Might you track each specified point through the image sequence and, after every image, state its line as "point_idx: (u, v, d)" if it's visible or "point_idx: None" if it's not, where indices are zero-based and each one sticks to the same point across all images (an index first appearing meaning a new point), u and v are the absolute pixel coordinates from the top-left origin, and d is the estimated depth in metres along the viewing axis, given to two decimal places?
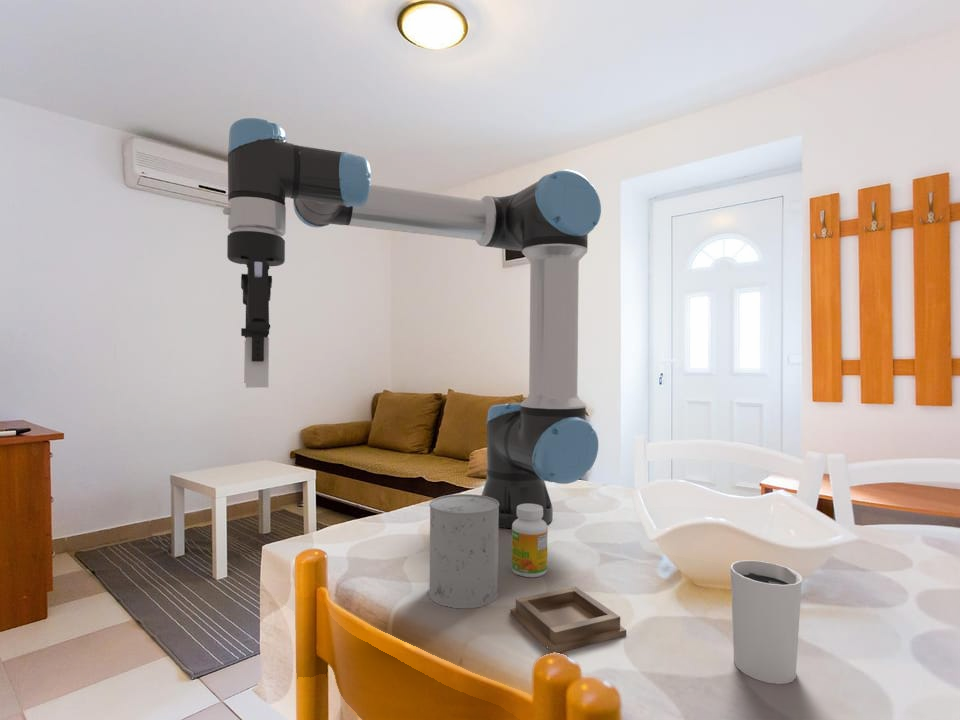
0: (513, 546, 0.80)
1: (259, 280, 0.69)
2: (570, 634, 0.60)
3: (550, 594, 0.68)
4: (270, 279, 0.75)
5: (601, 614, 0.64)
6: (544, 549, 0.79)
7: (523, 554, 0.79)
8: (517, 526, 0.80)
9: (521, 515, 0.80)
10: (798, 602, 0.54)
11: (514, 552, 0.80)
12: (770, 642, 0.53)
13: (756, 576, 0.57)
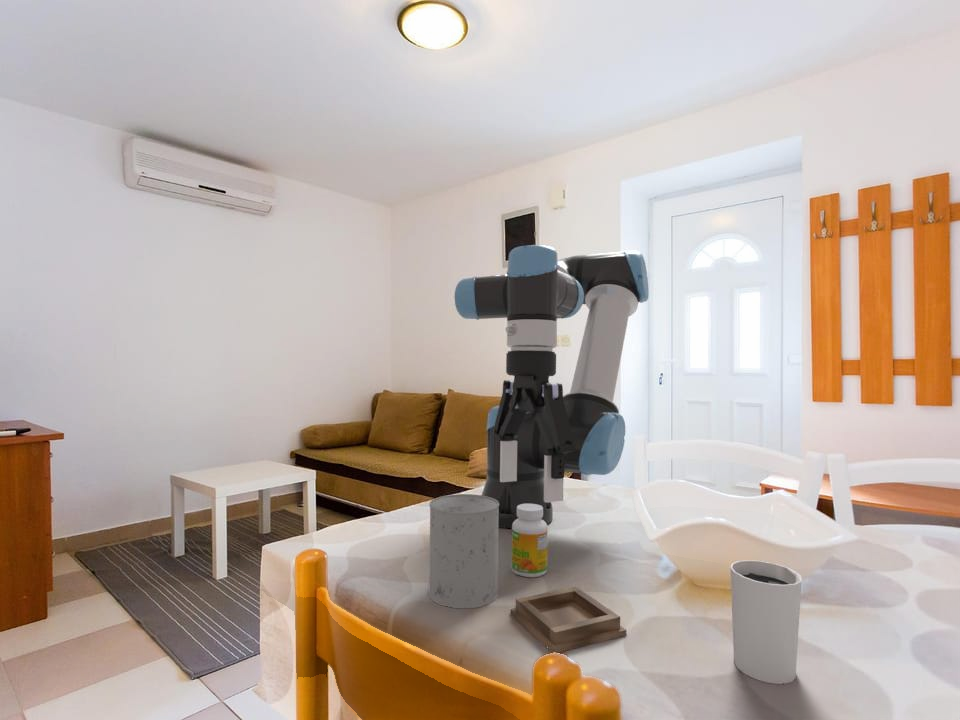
0: (513, 546, 0.80)
1: (557, 401, 0.74)
2: (570, 634, 0.60)
3: (550, 594, 0.68)
4: None
5: (601, 614, 0.64)
6: (544, 549, 0.79)
7: (523, 554, 0.79)
8: (517, 526, 0.80)
9: (521, 515, 0.80)
10: (798, 602, 0.54)
11: (514, 552, 0.80)
12: (770, 642, 0.53)
13: (756, 576, 0.57)
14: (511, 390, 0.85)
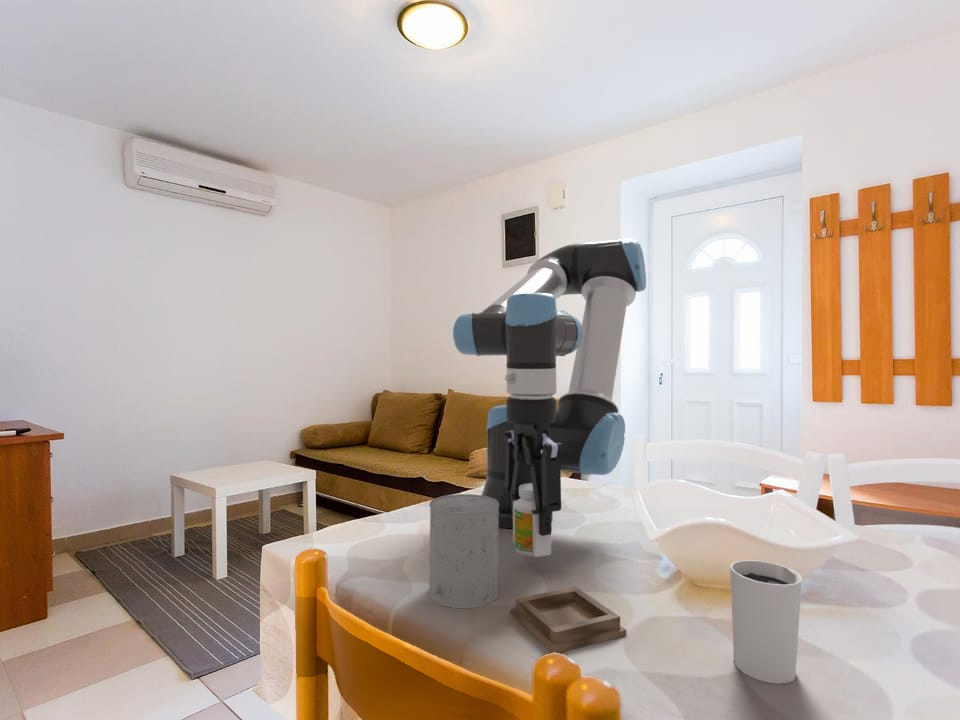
0: (516, 525, 0.81)
1: (554, 462, 0.76)
2: (570, 634, 0.60)
3: (550, 594, 0.68)
4: None
5: (601, 614, 0.64)
6: None
7: (526, 533, 0.79)
8: (519, 506, 0.80)
9: (524, 495, 0.80)
10: (798, 602, 0.54)
11: (517, 531, 0.80)
12: (770, 642, 0.53)
13: (756, 576, 0.57)
14: (513, 438, 0.85)
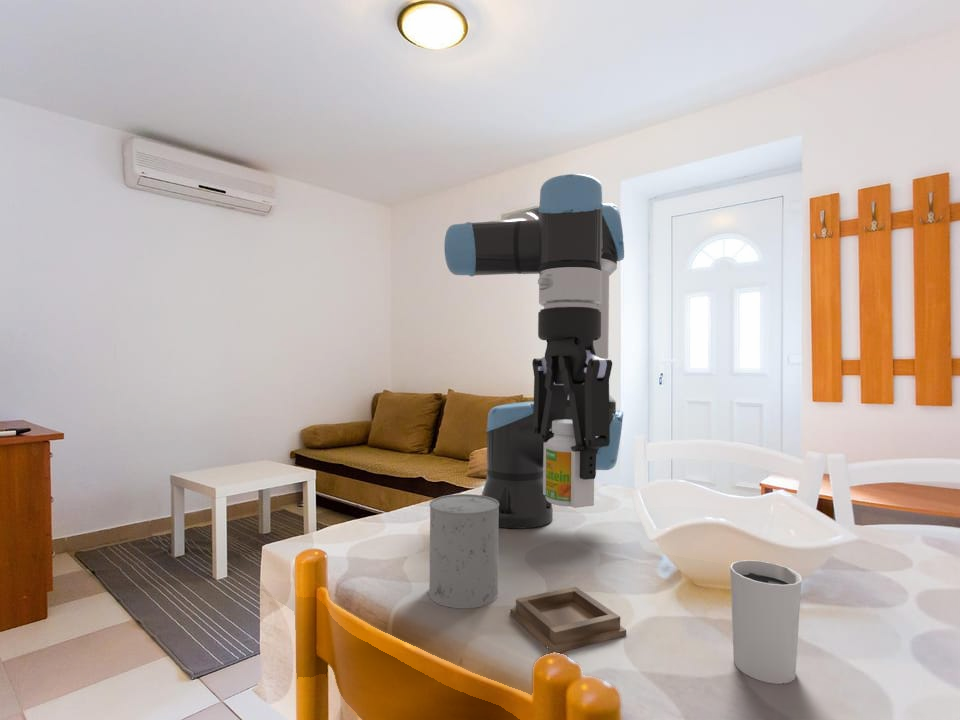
0: (548, 469, 0.64)
1: (601, 383, 0.59)
2: (570, 634, 0.60)
3: (550, 594, 0.68)
4: None
5: (601, 614, 0.64)
6: None
7: (562, 477, 0.62)
8: (553, 443, 0.63)
9: (559, 430, 0.63)
10: (798, 602, 0.54)
11: (550, 477, 0.64)
12: (770, 642, 0.53)
13: (756, 576, 0.57)
14: (544, 366, 0.69)
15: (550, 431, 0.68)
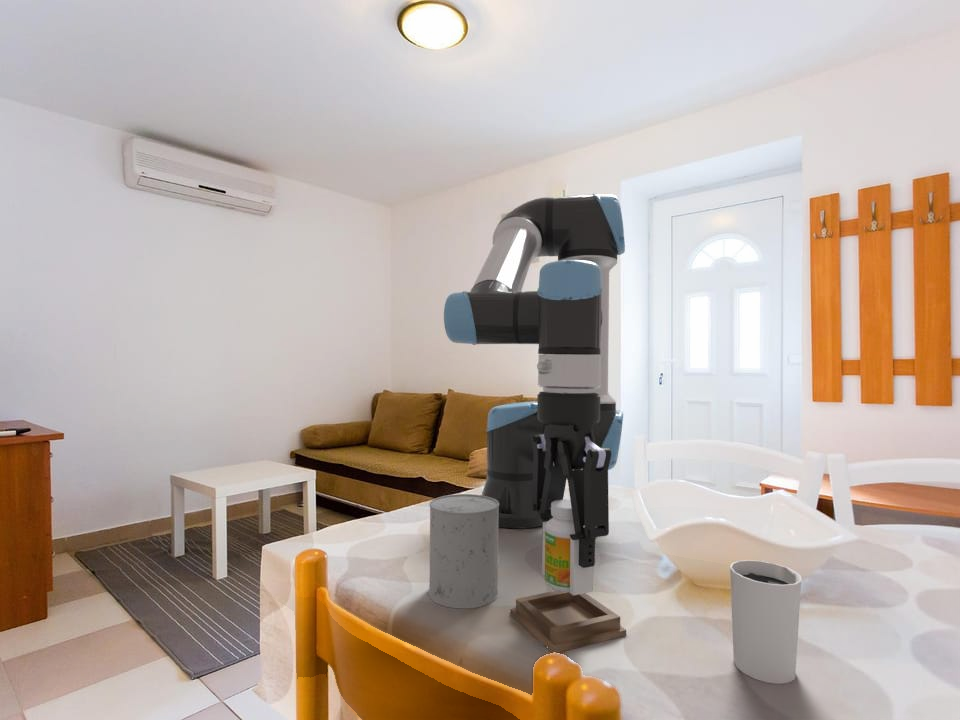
0: (547, 553, 0.64)
1: (600, 473, 0.59)
2: (570, 634, 0.60)
3: (550, 594, 0.68)
4: None
5: (601, 614, 0.64)
6: None
7: (561, 563, 0.62)
8: (552, 528, 0.63)
9: (558, 514, 0.63)
10: (798, 602, 0.54)
11: (549, 561, 0.63)
12: (770, 642, 0.53)
13: (756, 576, 0.57)
14: (543, 444, 0.69)
15: (549, 509, 0.68)
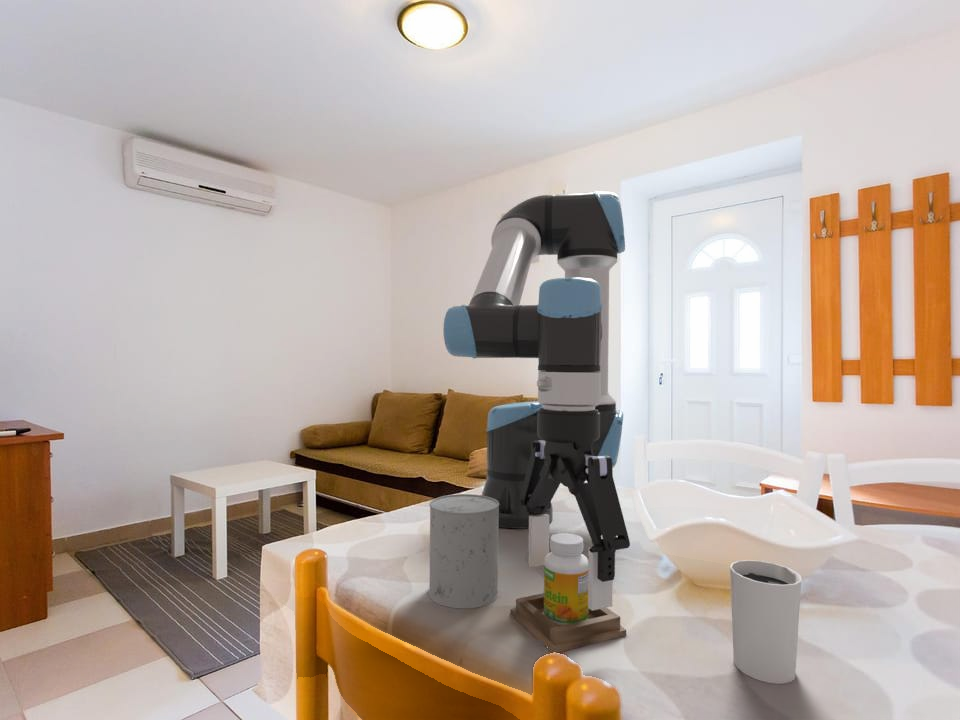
0: (546, 588, 0.64)
1: (605, 481, 0.58)
2: (570, 634, 0.60)
3: None
4: None
5: (601, 614, 0.64)
6: (586, 591, 0.63)
7: (560, 598, 0.63)
8: (551, 563, 0.64)
9: (557, 550, 0.64)
10: (797, 602, 0.54)
11: (548, 596, 0.64)
12: (770, 642, 0.53)
13: (756, 576, 0.57)
14: (542, 453, 0.69)
15: None
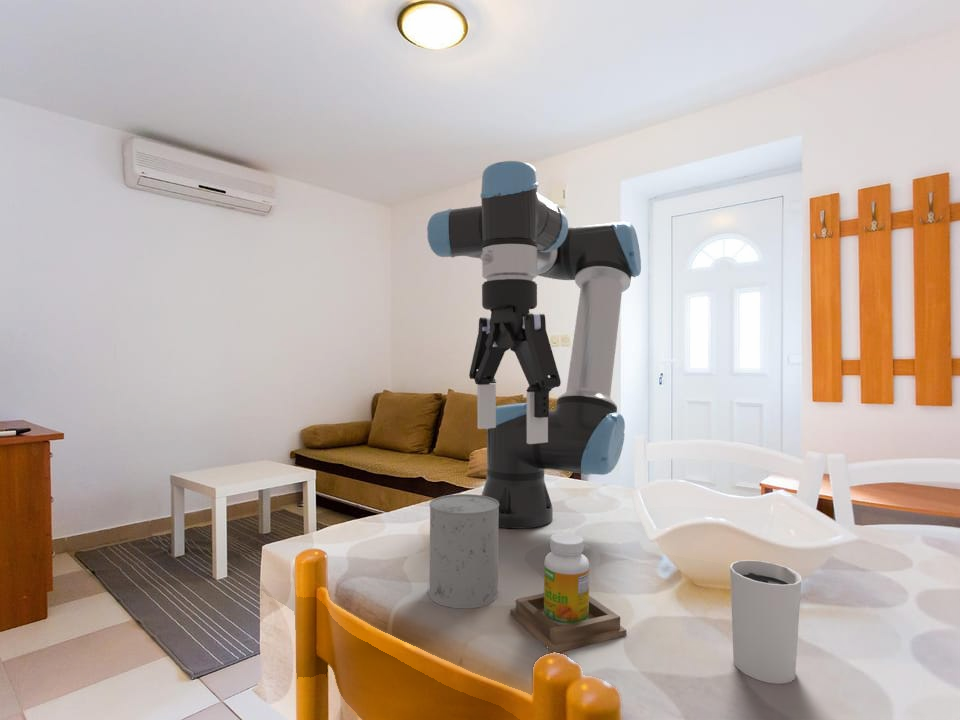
0: (546, 588, 0.64)
1: (539, 333, 0.67)
2: (570, 634, 0.60)
3: None
4: None
5: (601, 614, 0.64)
6: (586, 591, 0.63)
7: (560, 598, 0.63)
8: (551, 563, 0.64)
9: (557, 550, 0.64)
10: (797, 602, 0.54)
11: (548, 596, 0.64)
12: (769, 642, 0.53)
13: (756, 576, 0.57)
14: (488, 327, 0.78)
15: (483, 375, 0.80)
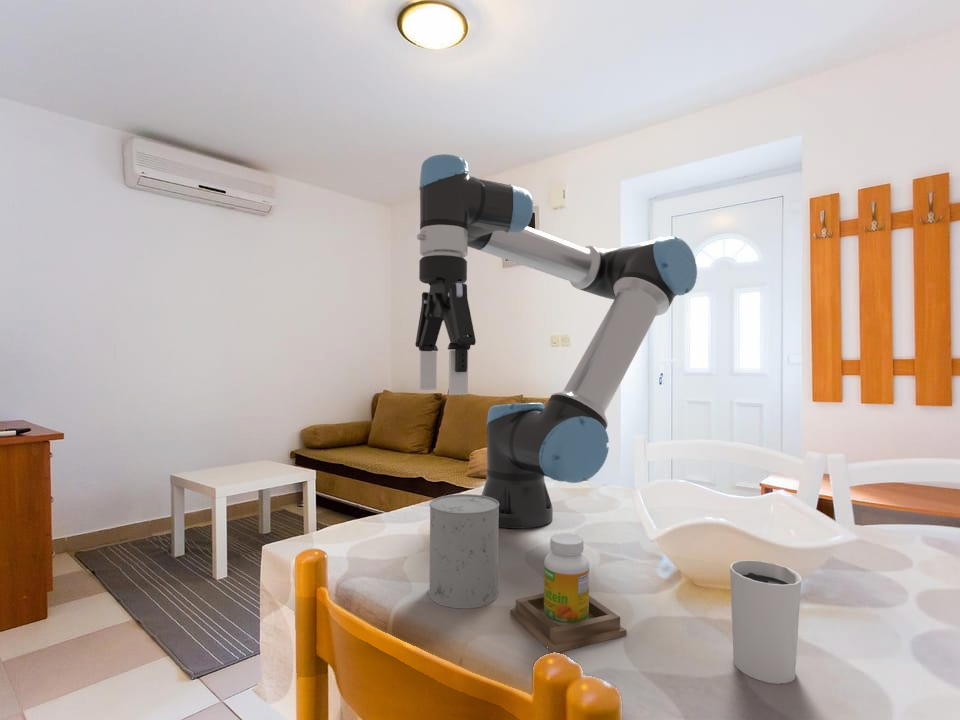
0: (546, 588, 0.64)
1: (461, 299, 0.78)
2: (570, 634, 0.60)
3: None
4: None
5: (601, 614, 0.64)
6: (586, 591, 0.63)
7: (560, 598, 0.63)
8: (551, 563, 0.64)
9: (557, 550, 0.64)
10: (797, 602, 0.54)
11: (548, 596, 0.64)
12: (769, 642, 0.53)
13: (755, 576, 0.57)
14: None
15: (426, 343, 0.92)
